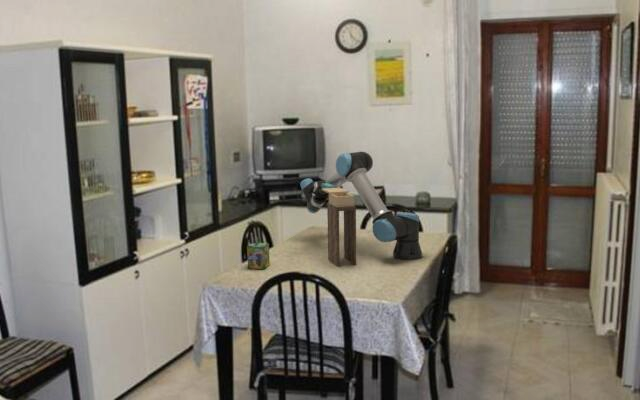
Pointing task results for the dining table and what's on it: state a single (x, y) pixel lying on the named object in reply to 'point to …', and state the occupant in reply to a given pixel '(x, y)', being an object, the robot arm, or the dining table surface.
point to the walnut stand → (348, 233)
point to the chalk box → (258, 255)
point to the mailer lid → (332, 189)
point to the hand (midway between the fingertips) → (328, 183)
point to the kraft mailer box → (341, 199)
